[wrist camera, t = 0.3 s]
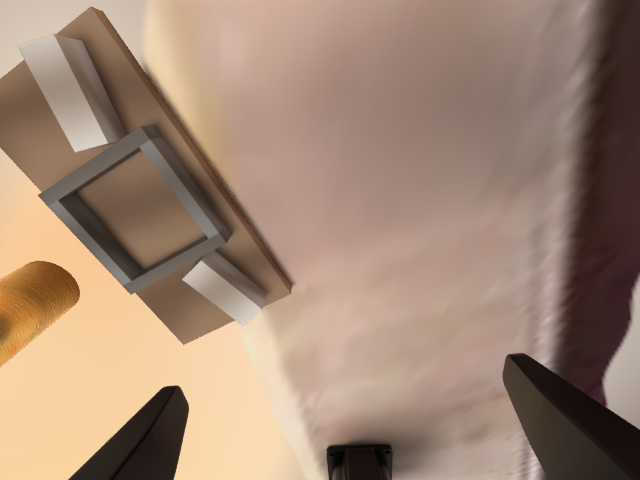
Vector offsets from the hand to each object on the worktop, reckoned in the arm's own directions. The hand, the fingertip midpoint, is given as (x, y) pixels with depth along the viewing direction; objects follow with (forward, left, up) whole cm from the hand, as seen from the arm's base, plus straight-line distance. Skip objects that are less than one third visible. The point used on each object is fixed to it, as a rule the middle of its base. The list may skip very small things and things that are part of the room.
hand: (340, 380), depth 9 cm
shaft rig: (+1, +12, -14) cm, 19 cm away
